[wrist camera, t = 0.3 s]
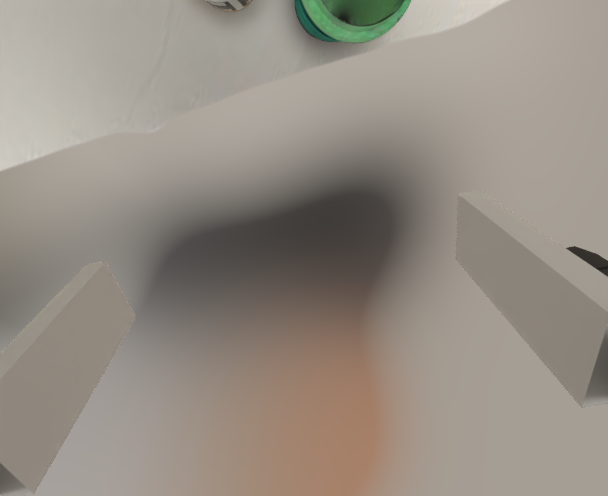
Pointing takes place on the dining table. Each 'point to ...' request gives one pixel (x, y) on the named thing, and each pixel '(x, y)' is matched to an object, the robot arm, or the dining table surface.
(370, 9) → the cup
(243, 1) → the pill bottle
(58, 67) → the dining table surface
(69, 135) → the dining table surface
